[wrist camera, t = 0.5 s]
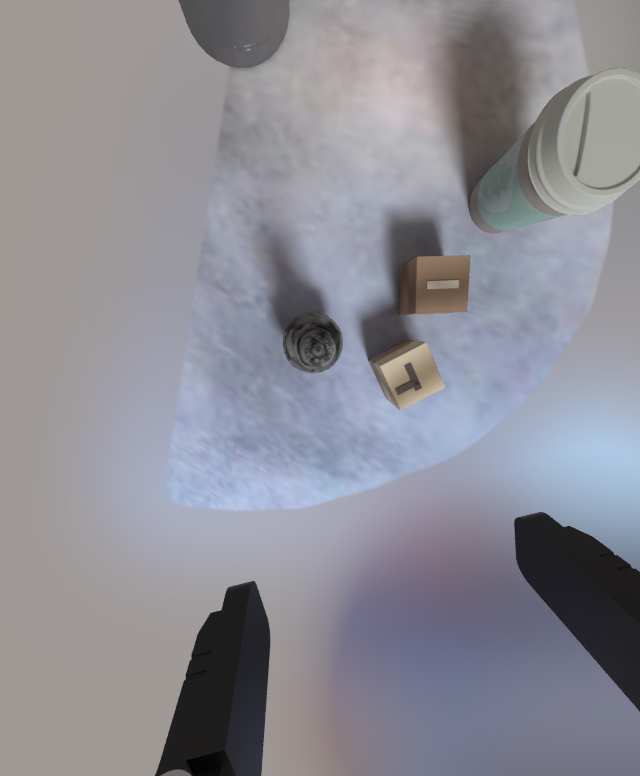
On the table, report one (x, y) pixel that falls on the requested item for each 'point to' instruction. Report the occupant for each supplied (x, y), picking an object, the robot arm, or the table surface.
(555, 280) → the table surface
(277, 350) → the table surface
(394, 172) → the table surface
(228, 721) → the robot arm
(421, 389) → the beech block digit
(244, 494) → the table surface
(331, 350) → the black chess piece
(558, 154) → the coffee cup
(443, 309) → the walnut block digit
